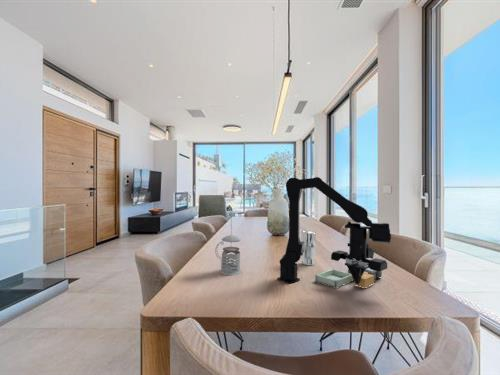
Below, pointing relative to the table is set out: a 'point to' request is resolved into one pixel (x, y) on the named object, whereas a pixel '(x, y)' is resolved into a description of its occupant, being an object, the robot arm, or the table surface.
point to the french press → (230, 256)
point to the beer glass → (308, 247)
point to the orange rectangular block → (366, 280)
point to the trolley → (372, 272)
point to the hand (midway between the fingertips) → (357, 283)
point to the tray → (333, 278)
